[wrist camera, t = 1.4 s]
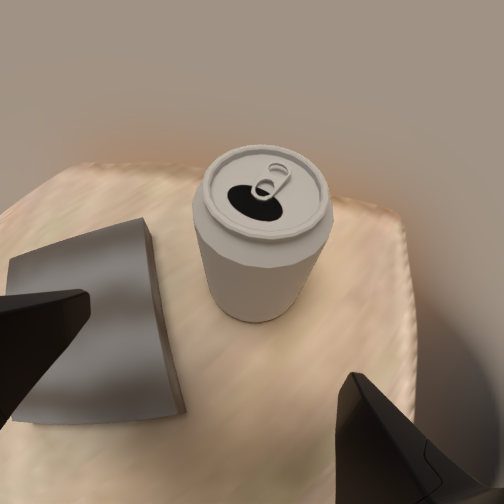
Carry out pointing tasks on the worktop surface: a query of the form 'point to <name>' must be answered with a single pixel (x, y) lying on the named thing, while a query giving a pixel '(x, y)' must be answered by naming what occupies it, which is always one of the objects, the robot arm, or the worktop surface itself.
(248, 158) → the can
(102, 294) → the plinth
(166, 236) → the worktop surface
